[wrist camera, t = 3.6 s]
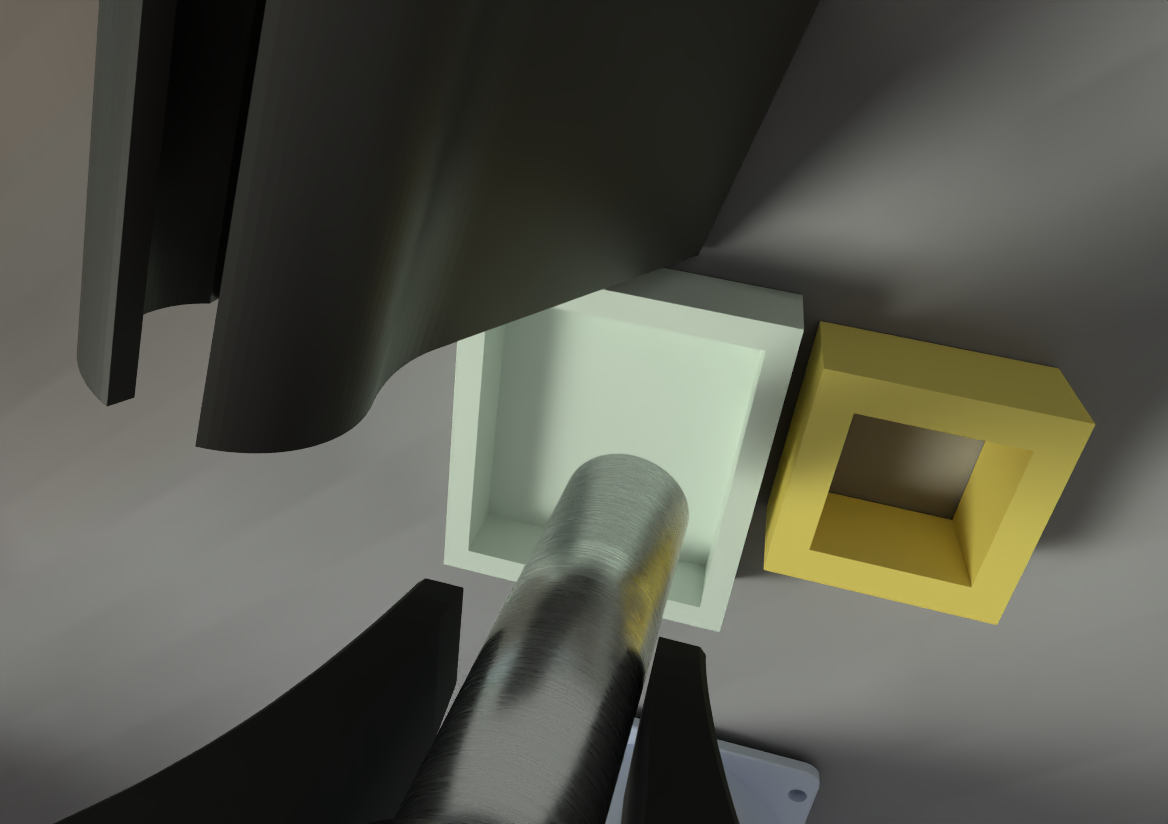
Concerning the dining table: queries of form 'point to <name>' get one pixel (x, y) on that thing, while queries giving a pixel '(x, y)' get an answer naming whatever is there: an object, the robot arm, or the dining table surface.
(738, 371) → the tray
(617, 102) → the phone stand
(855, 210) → the dining table surface
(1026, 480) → the pin socket
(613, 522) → the stop pin
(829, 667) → the dining table surface
